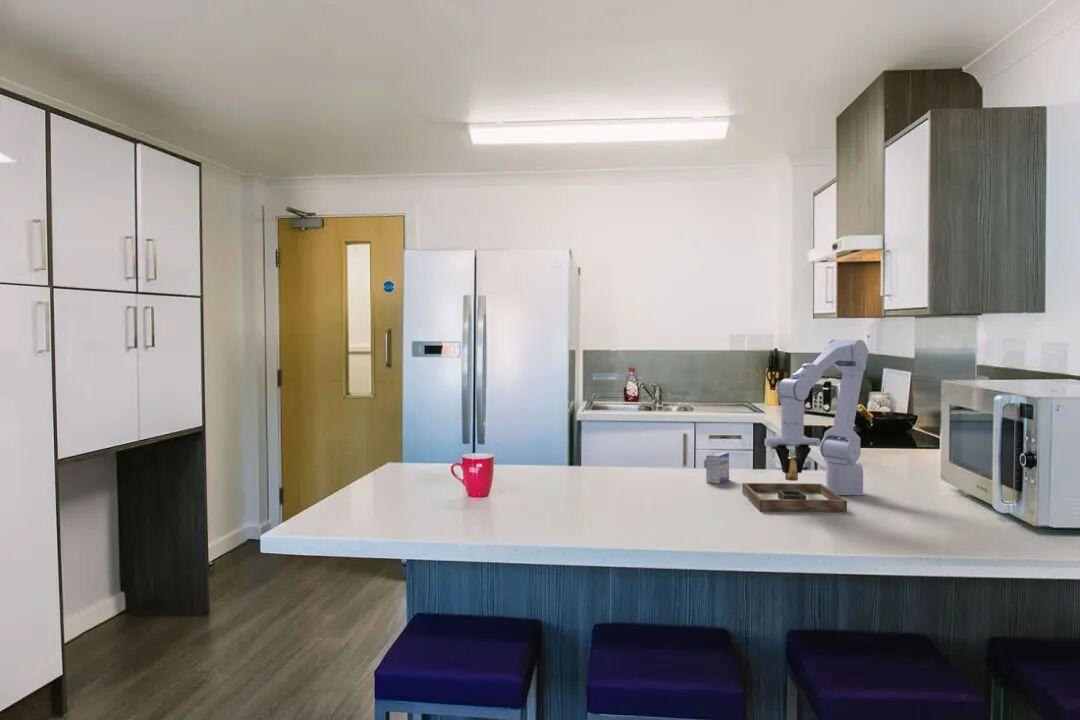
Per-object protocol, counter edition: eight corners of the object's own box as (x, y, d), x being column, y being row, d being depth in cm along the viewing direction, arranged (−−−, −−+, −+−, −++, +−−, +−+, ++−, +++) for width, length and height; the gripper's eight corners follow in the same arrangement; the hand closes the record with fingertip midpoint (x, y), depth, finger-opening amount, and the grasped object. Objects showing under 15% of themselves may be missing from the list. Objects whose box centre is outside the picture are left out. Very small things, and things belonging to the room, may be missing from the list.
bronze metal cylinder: (795, 478, 190) (795, 456, 190) (799, 480, 187) (799, 458, 187) (783, 478, 190) (783, 456, 190) (788, 480, 187) (788, 458, 187)
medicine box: (719, 484, 211) (719, 456, 211) (705, 482, 214) (705, 454, 214) (729, 479, 218) (729, 452, 217) (715, 478, 220) (716, 451, 220)
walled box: (820, 493, 198) (820, 483, 198) (846, 512, 178) (847, 500, 178) (742, 493, 200) (742, 482, 200) (759, 511, 180) (759, 499, 180)
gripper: (812, 420, 192) (812, 469, 193) (760, 421, 192) (760, 469, 192) (823, 424, 185) (823, 474, 186) (770, 424, 185) (769, 475, 185)
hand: (791, 472), depth 189 cm, fingers closed on bronze metal cylinder, 3 cm apart
